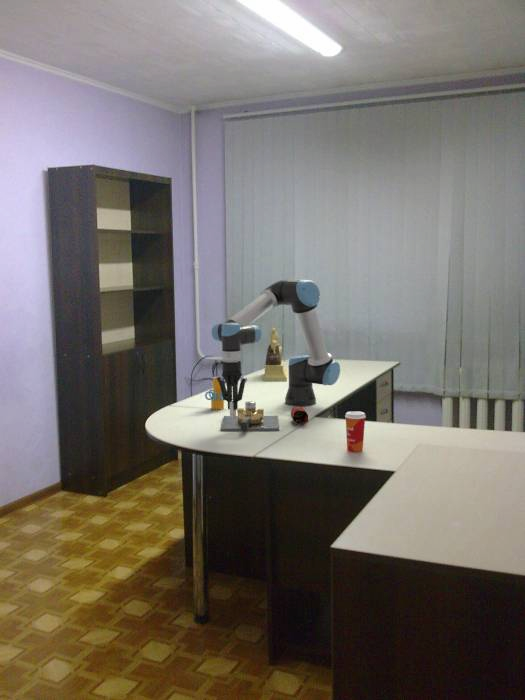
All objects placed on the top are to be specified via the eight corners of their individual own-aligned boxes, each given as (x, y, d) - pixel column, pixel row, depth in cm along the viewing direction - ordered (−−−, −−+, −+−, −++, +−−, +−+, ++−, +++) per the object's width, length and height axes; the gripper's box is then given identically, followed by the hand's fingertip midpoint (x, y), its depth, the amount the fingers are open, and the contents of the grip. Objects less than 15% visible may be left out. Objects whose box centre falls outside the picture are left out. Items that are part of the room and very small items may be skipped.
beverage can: (305, 419, 315) (305, 404, 314) (308, 425, 303) (308, 410, 302) (289, 419, 315) (289, 404, 314) (292, 425, 303) (292, 410, 302)
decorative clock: (286, 381, 414) (286, 329, 410) (264, 381, 414) (264, 329, 411) (287, 373, 442) (287, 325, 438) (266, 373, 442) (266, 325, 439)
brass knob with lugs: (240, 418, 312) (239, 406, 311) (265, 418, 310) (264, 406, 310) (230, 431, 288) (230, 418, 287) (257, 432, 287) (257, 419, 286)
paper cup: (342, 447, 267) (342, 411, 265) (362, 447, 268) (363, 410, 266) (346, 453, 259) (347, 415, 257) (367, 452, 260) (368, 415, 258)
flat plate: (277, 417, 318) (277, 396, 317) (279, 431, 293) (279, 408, 292) (223, 418, 318) (223, 397, 316) (220, 431, 293) (220, 408, 292)
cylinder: (225, 411, 332) (224, 379, 330) (203, 410, 334) (203, 379, 332) (231, 406, 343) (231, 375, 342) (210, 405, 345) (210, 374, 344)
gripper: (213, 361, 291) (214, 418, 294) (242, 363, 286) (243, 420, 289) (221, 358, 298) (222, 414, 301) (249, 360, 293) (251, 416, 296)
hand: (232, 417), depth 295 cm, fingers closed
